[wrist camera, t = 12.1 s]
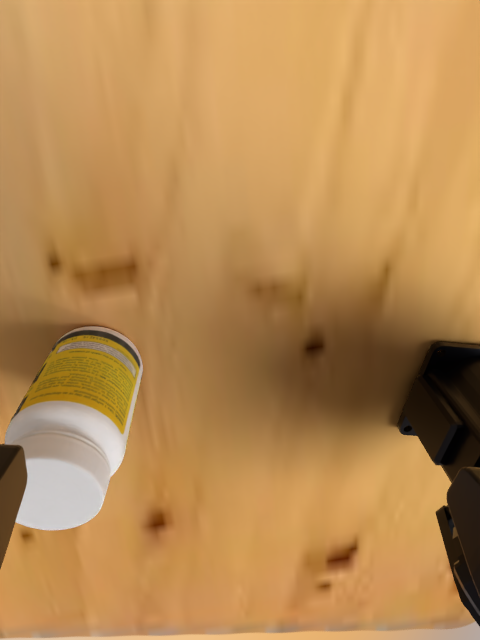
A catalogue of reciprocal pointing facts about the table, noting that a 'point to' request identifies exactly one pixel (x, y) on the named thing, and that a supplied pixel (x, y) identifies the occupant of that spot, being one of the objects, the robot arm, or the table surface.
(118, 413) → the supplement bottle
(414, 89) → the table surface
